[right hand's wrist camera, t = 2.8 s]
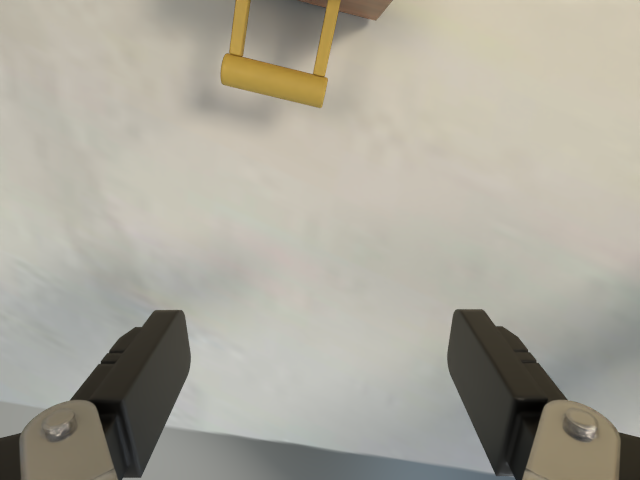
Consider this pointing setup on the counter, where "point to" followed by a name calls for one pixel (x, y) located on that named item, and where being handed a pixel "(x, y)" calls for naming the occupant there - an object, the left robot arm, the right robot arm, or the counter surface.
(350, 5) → the drawer
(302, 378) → the counter surface
